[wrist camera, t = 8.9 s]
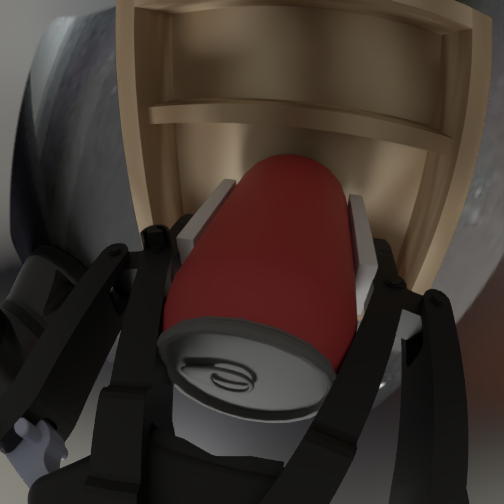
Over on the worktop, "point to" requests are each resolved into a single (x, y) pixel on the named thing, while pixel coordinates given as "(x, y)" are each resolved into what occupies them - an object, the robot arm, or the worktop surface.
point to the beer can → (266, 297)
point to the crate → (309, 106)
